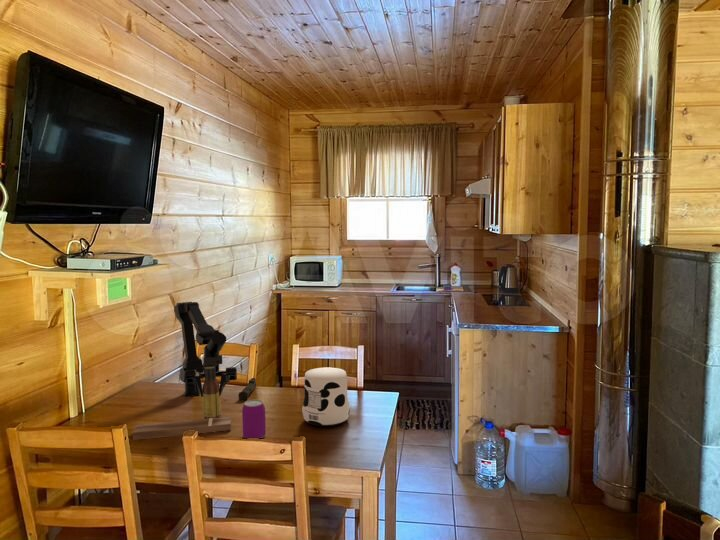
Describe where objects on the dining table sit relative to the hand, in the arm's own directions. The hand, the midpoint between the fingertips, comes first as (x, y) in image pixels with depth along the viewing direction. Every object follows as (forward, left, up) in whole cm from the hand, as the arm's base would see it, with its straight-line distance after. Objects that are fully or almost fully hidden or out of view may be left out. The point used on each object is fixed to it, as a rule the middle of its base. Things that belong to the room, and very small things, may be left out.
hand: (210, 395), depth 191 cm
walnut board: (+7, -9, -10) cm, 15 cm away
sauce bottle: (-1, 0, -9) cm, 9 cm away
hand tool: (-29, +13, -10) cm, 34 cm away
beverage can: (+18, +15, -10) cm, 25 cm away
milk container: (+10, +41, -10) cm, 43 cm away
